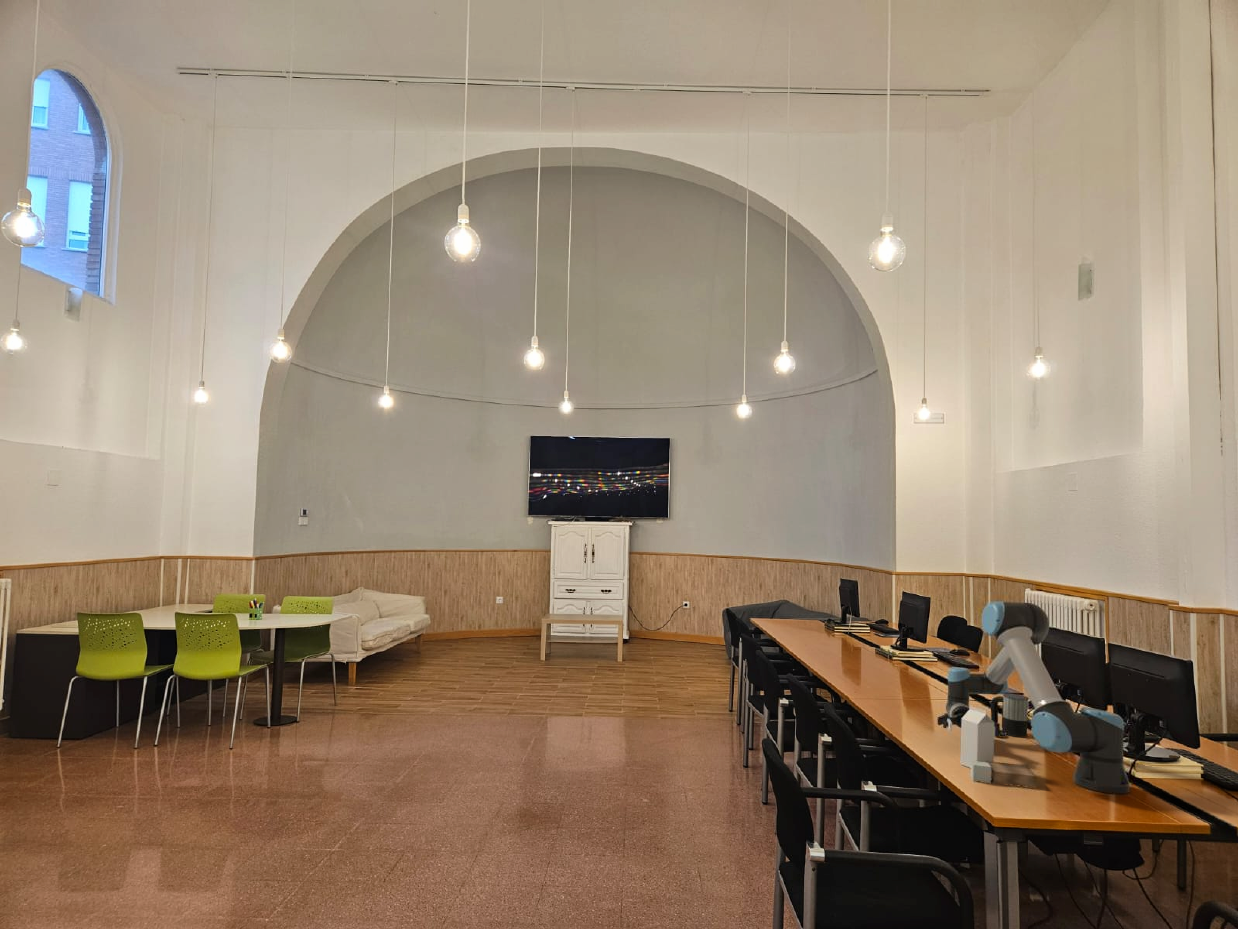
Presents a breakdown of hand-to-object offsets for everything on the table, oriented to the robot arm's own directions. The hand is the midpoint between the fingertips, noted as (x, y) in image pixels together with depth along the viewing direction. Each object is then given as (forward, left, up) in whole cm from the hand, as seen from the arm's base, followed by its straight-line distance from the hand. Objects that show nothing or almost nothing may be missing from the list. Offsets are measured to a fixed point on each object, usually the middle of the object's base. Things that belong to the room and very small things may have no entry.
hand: (972, 729), depth 281 cm
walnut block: (-8, +21, -10) cm, 24 cm away
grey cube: (+1, +25, -10) cm, 27 cm away
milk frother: (-20, -44, -10) cm, 50 cm away
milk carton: (0, +10, -10) cm, 14 cm away
